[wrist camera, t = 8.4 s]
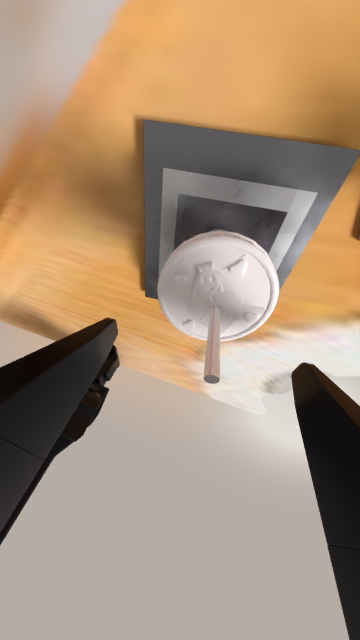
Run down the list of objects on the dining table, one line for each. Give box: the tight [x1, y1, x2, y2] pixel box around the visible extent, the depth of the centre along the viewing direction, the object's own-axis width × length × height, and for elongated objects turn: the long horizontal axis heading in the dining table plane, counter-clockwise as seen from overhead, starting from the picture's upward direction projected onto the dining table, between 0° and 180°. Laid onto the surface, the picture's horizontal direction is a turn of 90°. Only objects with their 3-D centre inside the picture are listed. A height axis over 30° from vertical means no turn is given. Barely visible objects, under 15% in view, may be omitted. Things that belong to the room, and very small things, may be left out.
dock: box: [143, 119, 360, 299], centre depth 15 cm, size 15×15×4 cm
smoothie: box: [157, 229, 279, 384], centre depth 11 cm, size 6×6×14 cm
